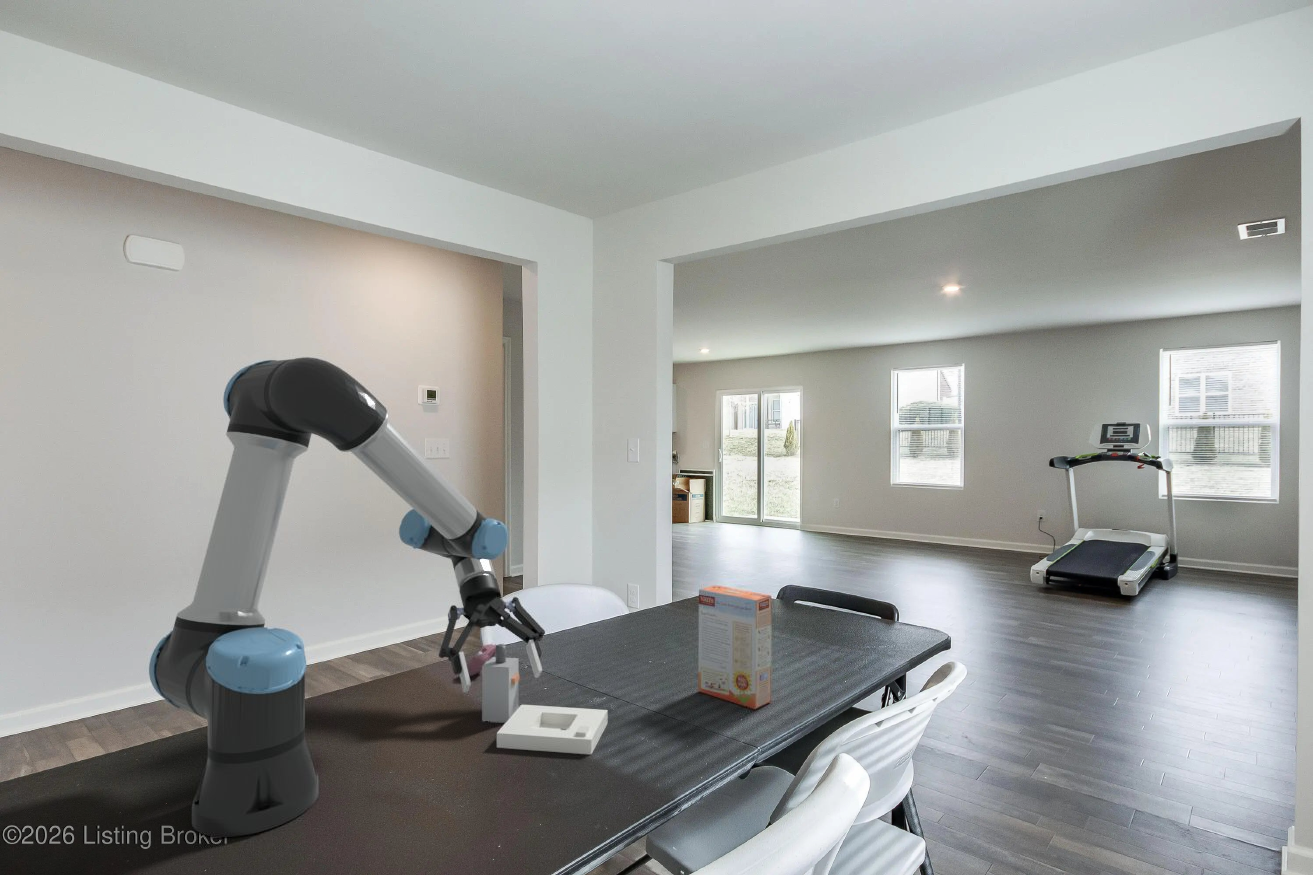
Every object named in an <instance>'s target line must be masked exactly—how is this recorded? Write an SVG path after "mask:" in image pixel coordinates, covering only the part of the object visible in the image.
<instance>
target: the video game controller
mask: <svg viewBox="0 0 1313 875" xmlns="http://www.w3.org/2000/svg"><path fill="white" fill-rule="evenodd" d="M496 645H497V644H494V643H493V642H491V643H490V644H485V645H483V646H481V648H480V649H479V651H478V652H476V654H475V655H474V656H473V657H472V659H471V660H470V661H469V662H468V663H466V665H467V669H468V673H469V678H470V677H472V676H474V675H475V674H478V675H480V676H482V666H483V665H484V664H485V663H486V662H487V661H489V660H490V659H491V658H492V657H496Z"/></svg>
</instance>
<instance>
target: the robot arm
mask: <svg viewBox="0 0 1313 875" xmlns="http://www.w3.org/2000/svg"><path fill="white" fill-rule="evenodd" d="M222 398H223V399H222V400H223V408H224V412H226V414H227V416H228V419H229V422H228V426H227V430H226V434H225V435H226V437H227V438H228V440H229V441H230V442H231V444H232V445H233V451H232V454H231V455H232V456H231V459H230V463H229V466H228V470H227V473H226V477H225V481H224V485H223V488H222V492H221V495H220V500H219V504H218V508H217V510H216V515H215V519H214V521H213V526H212V530H211V533H210V537H209V541H208V545H207V548H206V552H205V556H204V559H203V563H202V565H201V566H202V567H201V571H200V573H199V578H198V580H197V585H196V589H195V592H194V593H195V594H194V597H193V600H192V602H191V603H190V604H189V605H188V606H186V607H185V608H183V609H181V610H180V611H178V613H177V614H176V617H175V621H174V625H173V626H172V628H173V629H172V630H171V631H170V632H169V633H168V634H167V635H166V636H164V637H163V638H161V640H160V641H159V642H158V643H157V645H156V646H155V648H154V649H153V652H152V653H151V657H150V660H149V663H148V664H149V665H148V667H149V668H148V675H149V680H150V683H151V685H152V687H153V689H154V690H155V691H156V692H157V693H158V695H159V696H161V697H162V699H164V700H166V703H169V704H170V705H172V706H173V707H175V708H179V709H182V710H184V711H188V712H189V713H192V714H194V715H196V716H199V717H201V718H203V719H205V720H207V760H206V764H205V767H204V769H203V773H202V775H201V778H200V782H199V784H198V787H197V791H196V794H195V796H194V798H193V801H192V805H191V826H192V828H193V829H194V830H195V831H196V832H198V833H199V834H201V835H205V836H209V837H218V838H221V837H222V838H231V837H232V838H233V837H240V836H247V835H252V834H255V833H260V832H265V831H268V830H270V829H273V828H277V827H279V826H280V825H284V824H286V823H288V822H290V821H292V820H294V819H296V818H297V817H299V816H301V815H302V814H304V813H305V812H306V811H307V810H308V809H310V808H311V807H313V805H314V803H315V802H316V801H317V799H318V797H319V774H318V773H317V770H316V769H315V768H314V765H313V764H314V763H313V761H312V757H311V755H310V754H311V753H310V751H309V749H308V746H307V743H306V737H305V735H306V730H305V729H306V723H305V720H306V670H307V660H306V659H307V658H306V654H305V645H304V642H303V640H302V639H301V637H300V636H299V635H298V634H296V633H295V632H293V631H290V630H288V629H284V628H278V627H273V628H268V627H265V625H266V624H265V623H266V619H265V617H264V616H263V615H262V614H261V612H260V611H259V608H258V607H259V602H260V598H261V594H262V590H263V587H264V583H265V578H266V575H267V570H268V566H269V563H270V558H271V555H272V551H273V546H274V543H275V538H276V534H277V531H278V527H279V522H280V518H281V515H282V511H283V506H284V503H285V499H286V494H287V490H288V488H289V487H288V486H289V484H290V483H289V482H290V480H291V479H290V478H291V474H292V470H293V468H294V463H295V462H294V461H295V460H296V458H298V457H299V456H301V455H302V454H304V453H306V452H307V451H308V449H309V445H310V441H311V437H312V435H315V436H318V437H319V438H322V439H325V440H326V441H328V442H329V443H331V445H332V446H334V447H335V448H336V449H337V450H338V451H340V452H342V453H349V452H351V454H353V455H354V456H355V457H356V458H357V459H358V460H359V461H360V462H361V463H362V464H364V465H365V466H366V467H367V468H368V469H369V470H370V471H372V472H373V473H374V474H375V475H376V476H377V477H378V478H379V479H380V480H381V481H382V482H383V483H385V485H387V486H388V487H389V488H390V489H391V490H392V491H394V493H395V494H396V495H397V496H399V497H400V498H401V499H402V500H404V502H405V503H407V505H409V506H410V507H411V509H410V510H409V511H408V512H407V513H406V514H405V515H404V516H403V517H402V520H401V523H400V525H399V527H398V528H399V529H398V534H399V538H400V541H401V542H402V543H403V544H405V545H407V546H410V547H412V548H413V549H415V550H416V549H418V550H421V551H424V552H427V553H430V554H434V555H437V556H441V557H443V558H446V559H449V560H451V564H452V566H453V571H454V574H455V578H456V583H457V586H458V589H459V591H458V592H459V595H460V599H461V600H460V601H461V603H462V605H463V606H462V607H457V605H451V606H450V608H449V611H448V613H447V618H448V621H447V622H448V624H447V626H446V629H445V633H444V637H443V639H442V643H441V646H440V649H439V652H438V657H439V658H440V659H444V658H448V661H449V662H451V666H452V672H453V674H454V675H458V674H459V675H458V676H459V678H460V683H461V688H462V691H463V693H468V692H469V690H470V689H471V686H472V683H471V678H470V677H469V673H468V669H467V665H466V664H467V661H466V657H465V652H464V651H461V649H462V648H463V647H464V645H465V643H466V641H467V639H468V638H469V636H470V635H471V633H472V632H473V630H474V629H475V627H478V628H479V629H481V628H482V629H484V628H485V627H496V625H498V626H499V627H501V628H505V629H506V630H508V631H509V632H510V633H512V634H513V635H515V636H516V637H517V638H519V639H521V640H522V641H524V642H525V643H526V646H525V649H526V654H527V655H528V656H527V658H528V660H529V664H530V666H531V669H532V673H533V676H534V678H536V679H537V678H539V677H540V676H541V674H542V672H543V667H542V663H541V661H540V658H541V657H542V650H541V647H540V644H539V642H541V641H542V640H543V638H544V636H545V634H546V631H545V629H544V628H543V627H542V626H541V625H540V624H539V622H537V621H536V620H535V619H534V617H533V616H532V615H531V614H530V613H529V612H528V611H527V609H525V608H524V607H523V606H522V603H521V601H520V599H519V598H518V597H517V596H514V597H512V599H511V600H507V601H505V600H504V599H503V598H502V594H501V590H500V587H499V584H498V580H497V578H496V573H495V570H494V569H495V568H494V566H493V563H492V560H496V559H498V558H499V557H500V556H502V555H503V553H504V552H505V550H506V549H507V546H508V542H509V531H508V529H507V527H506V525H505V523H503V522H502V521H501V520H497V519H494V518H492V517H488V518H486V517H485V516H484V515H483V514H482V513H481V512H479V510H477V509H476V507H474V505H473V504H472V503H471V502H470V501H468V500H467V498H465V497H464V495H463V494H461V492H460V491H459V490H458V489H457V488H456V487H455V486H454V485H453V484H452V483H451V482H450V481H449V480H448V479H447V478H446V477H445V476H444V475H443V474H442V473H441V471H439V470H438V469H437V468H436V466H434V465H433V464H432V463H431V462H430V461H429V460H428V458H426V456H424V455H423V454H422V453H421V451H419V449H418V448H416V447H415V446H414V444H412V443H411V442H410V440H409V439H407V437H405V436H404V434H403V433H402V432H401V431H400V430H399V429H398V428H397V427H396V426H395V425H394V424H393V423H392V422H391V421H390V420H389V419H388V417H389V416H388V415H389V411H388V408H386V407H385V406H384V405H383V404H382V403H381V402H380V400H379V399H377V398H376V397H375V395H374V394H373V393H371V392H370V391H369V390H368V389H367V388H366V387H365V386H364V385H362V383H360V382H359V381H358V380H356V378H355V377H353V376H352V375H350V374H349V373H348V372H347V371H345V370H343V369H342V368H341V367H339V366H337V365H335V364H333V363H331V362H329V361H327V360H324V359H321V358H316V357H307V356H305V357H303V356H302V357H296V358H291V359H281V360H276V359H274V360H273V359H269V360H262V361H259V362H254V363H253V364H249V365H247V366H244V367H243V368H241V369H239V370H238V371H237V372H235V374H233V375H232V377H231V378H230V379H229V380H228V382H227V384H226V386H225V388H224V393H223V397H222ZM506 610H508V611H506ZM510 613H512V614H513V616H514V617H515V618H514V617H512V615H511V614H510ZM462 615H463V617H464V618H465V619H467V620H468V622H467V624H466V625H465V626H464V629H463V630H462V632H461V634H460V635H459V637H458V639H457V640H456V641H455V643H454V645H453V646H452V647H450V643H451V640H452V637H453V633H454V630H455V627H456V624H457V622H458V621H457V620H459V619H460V618H461V616H462Z"/></svg>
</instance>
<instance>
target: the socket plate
mask: <svg viewBox="0 0 1313 875" xmlns="http://www.w3.org/2000/svg"><path fill="white" fill-rule="evenodd" d="M608 711H609V710H608V709H596V708H595V709H594V708H583V707H582V708H579V707H565V706H563V707H562V706H549V705H536V704H535V705H533V704H521V705H519V706H518V709H517V710H516V712H515V713H514V714H513V715H512V716H511V717H510V718H509V720H508V721H507V722H506V723H504V724H503V725H502V727H501V728H500V729H499V730H498V731H497V733H496V748H498V749H511V750H512V749H513V750H524V751H525V750H527V751H537V752H539V751H540V752H553V753H554V752H555V753H565V754H567V753H568V754H580V755H592V754H593V752H594V751H595V749H596V746H597V744H598V743H599V740H600V739H601V737H602V735H603V733H604V731H605V730H606V727H607V725H608V723H609V721H608V720H609V718H608Z"/></svg>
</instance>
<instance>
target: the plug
mask: <svg viewBox="0 0 1313 875" xmlns="http://www.w3.org/2000/svg"><path fill="white" fill-rule="evenodd" d="M506 652H507V646H506V644H504V643H499V644H496V657H492V658H491V659H490V660H489V661H487V662H486V663H485V664H484V665H483V666H482V674H481V678H482V679H481V685H482V686H481V688H482V690H481V692H482V693H481V698H482V699H481V712H482V713H481V718H482V719H481V720H482V721H481V722H485V721H488V723H502V724H503V723H504V724H505V723H506V722H507V721H508V720H509V718H510V717H511V716H512V715H513V714H514V713H515V712H516V710H517V709H518V708H519V681H520V672H519V668H520V667H519V660H520V659H519V658H518V657H507V656H506V655H507V654H506ZM489 721H490V722H489Z"/></svg>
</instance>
